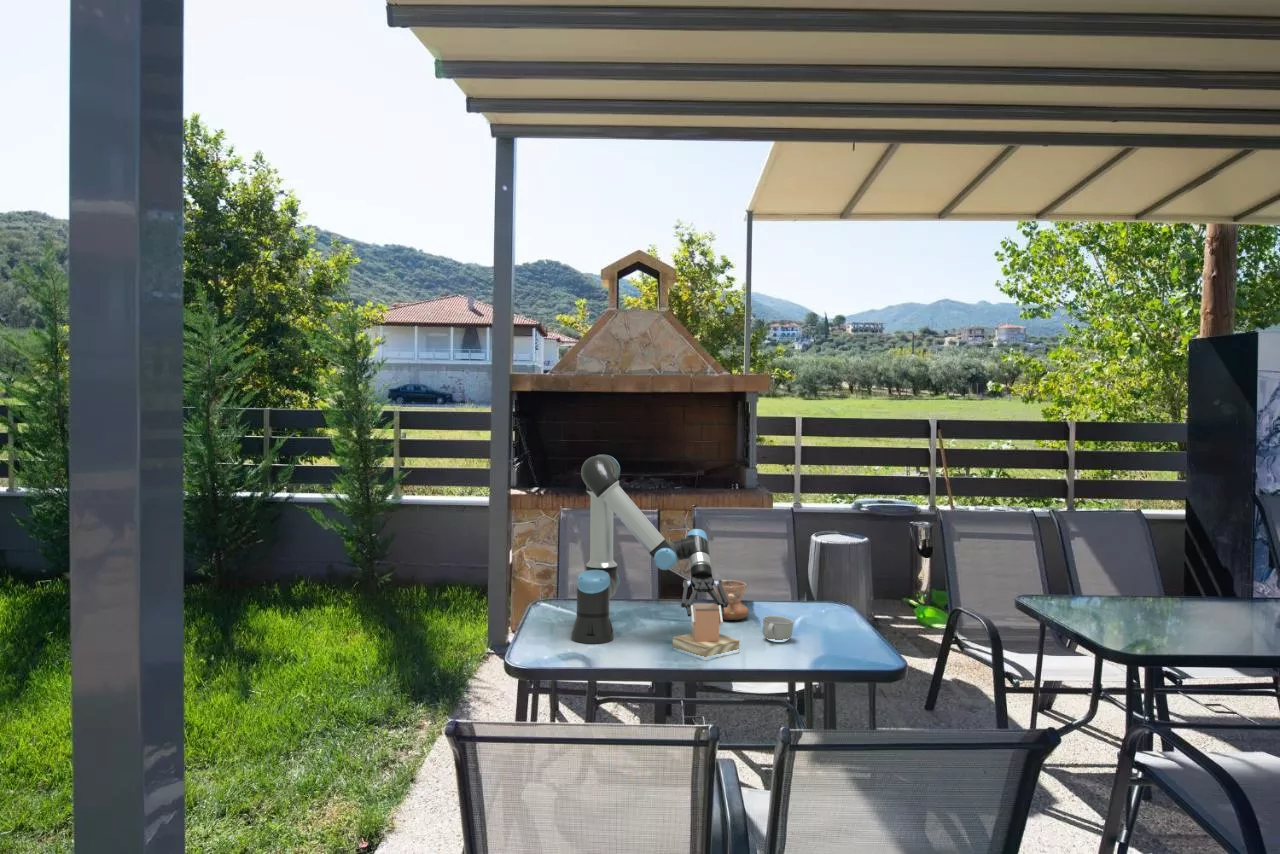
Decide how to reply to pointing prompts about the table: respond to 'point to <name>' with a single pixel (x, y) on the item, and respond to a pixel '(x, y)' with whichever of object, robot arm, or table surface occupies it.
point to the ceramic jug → (734, 600)
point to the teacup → (777, 627)
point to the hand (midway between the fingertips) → (707, 624)
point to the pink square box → (706, 622)
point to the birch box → (705, 645)
